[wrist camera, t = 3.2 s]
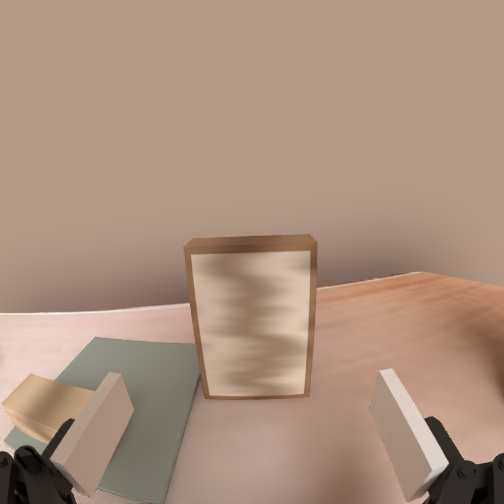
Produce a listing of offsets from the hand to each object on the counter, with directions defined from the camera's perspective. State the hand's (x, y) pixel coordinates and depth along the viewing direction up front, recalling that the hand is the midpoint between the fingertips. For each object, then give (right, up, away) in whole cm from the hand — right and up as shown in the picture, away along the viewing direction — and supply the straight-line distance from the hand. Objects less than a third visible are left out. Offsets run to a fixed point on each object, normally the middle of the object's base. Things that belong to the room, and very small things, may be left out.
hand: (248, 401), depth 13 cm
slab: (+1, -5, +11) cm, 12 cm away
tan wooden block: (-15, -7, +3) cm, 16 cm away
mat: (-12, -6, +8) cm, 16 cm away
